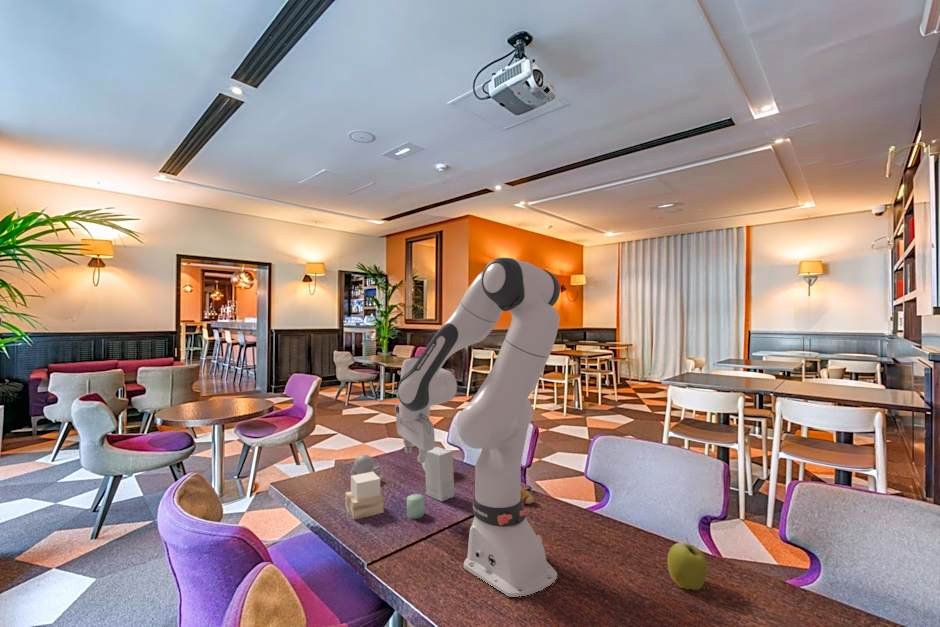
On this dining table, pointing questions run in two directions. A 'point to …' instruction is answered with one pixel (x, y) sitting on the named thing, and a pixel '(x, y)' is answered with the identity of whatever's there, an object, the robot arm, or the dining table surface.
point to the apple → (687, 566)
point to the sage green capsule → (415, 506)
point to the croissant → (526, 496)
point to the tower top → (365, 485)
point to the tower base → (363, 505)
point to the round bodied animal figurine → (365, 466)
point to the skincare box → (439, 474)
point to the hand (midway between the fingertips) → (414, 457)
